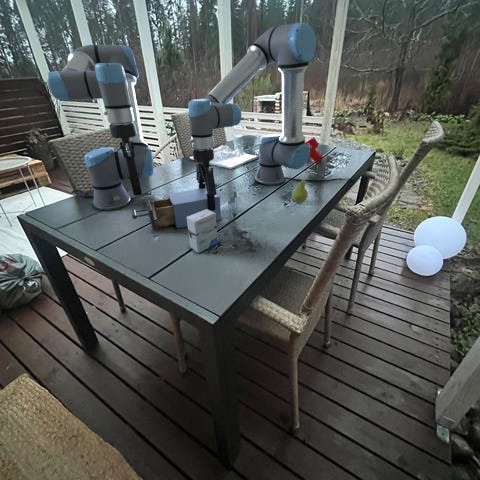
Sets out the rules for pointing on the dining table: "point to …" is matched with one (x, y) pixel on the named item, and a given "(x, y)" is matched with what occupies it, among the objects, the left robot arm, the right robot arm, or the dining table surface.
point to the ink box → (202, 230)
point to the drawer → (159, 212)
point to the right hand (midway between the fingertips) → (207, 204)
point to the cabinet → (191, 205)
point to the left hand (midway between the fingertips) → (137, 194)
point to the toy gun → (313, 153)
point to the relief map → (230, 157)
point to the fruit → (300, 192)
